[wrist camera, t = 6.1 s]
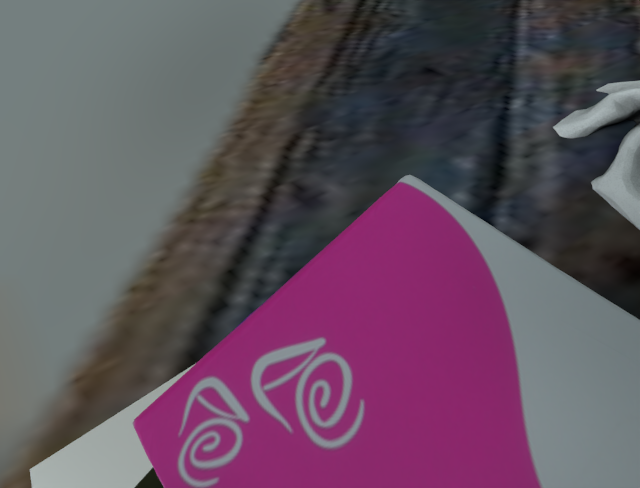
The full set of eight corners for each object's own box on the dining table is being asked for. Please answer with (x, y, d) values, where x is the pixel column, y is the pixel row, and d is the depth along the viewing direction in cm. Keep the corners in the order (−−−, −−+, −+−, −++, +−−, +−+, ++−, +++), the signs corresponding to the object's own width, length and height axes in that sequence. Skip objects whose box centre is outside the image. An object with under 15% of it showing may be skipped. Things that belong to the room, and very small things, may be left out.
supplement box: (379, 327, 16) (415, 155, 6) (491, 433, 13) (917, 467, 3) (287, 422, 14) (108, 423, 4) (394, 562, 12) (612, 1440, 2)
